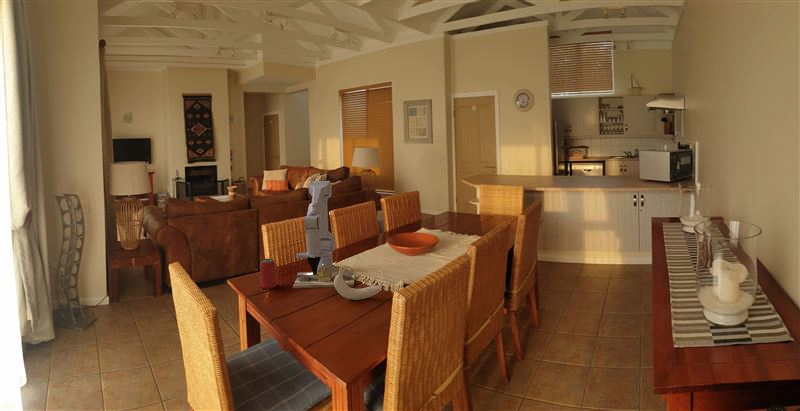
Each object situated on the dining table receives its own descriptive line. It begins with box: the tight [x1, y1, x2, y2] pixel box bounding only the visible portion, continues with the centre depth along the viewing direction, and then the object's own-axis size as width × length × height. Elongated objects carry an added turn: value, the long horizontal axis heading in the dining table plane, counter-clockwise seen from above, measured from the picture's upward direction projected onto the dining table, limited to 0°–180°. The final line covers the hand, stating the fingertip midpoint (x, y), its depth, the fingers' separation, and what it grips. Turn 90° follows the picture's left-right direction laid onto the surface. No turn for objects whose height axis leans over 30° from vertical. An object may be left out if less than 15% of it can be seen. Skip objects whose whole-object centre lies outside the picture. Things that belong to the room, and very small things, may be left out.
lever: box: [318, 263, 327, 276], centre depth 207 cm, size 13×2×2 cm, turn 2°
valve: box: [296, 267, 353, 282], centre depth 213 cm, size 5×24×6 cm, turn 92°
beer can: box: [259, 258, 278, 290], centre depth 208 cm, size 7×7×12 cm
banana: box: [334, 267, 383, 301], centre depth 191 cm, size 5×19×15 cm, turn 100°
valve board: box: [292, 273, 356, 289], centre depth 213 cm, size 14×26×1 cm, turn 92°
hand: (315, 274), depth 204 cm, fingers closed
